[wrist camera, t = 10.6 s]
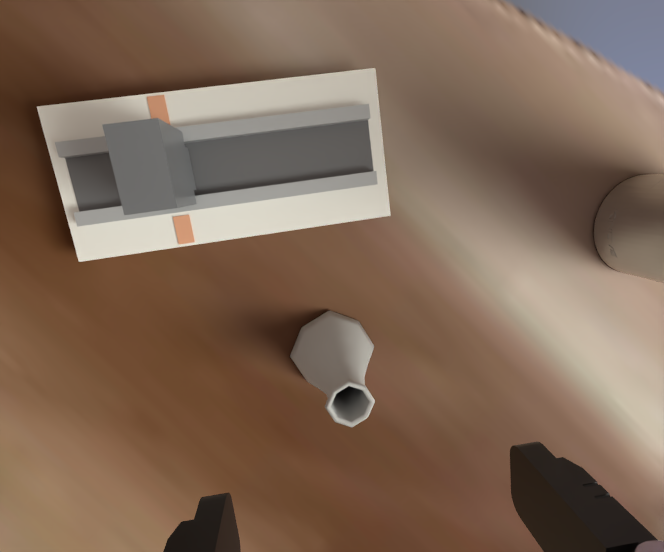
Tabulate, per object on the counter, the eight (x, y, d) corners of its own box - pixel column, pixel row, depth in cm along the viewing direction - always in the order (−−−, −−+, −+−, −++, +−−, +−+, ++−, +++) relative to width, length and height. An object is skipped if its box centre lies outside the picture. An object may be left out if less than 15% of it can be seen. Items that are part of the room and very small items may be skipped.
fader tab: (185, 133, 30) (157, 118, 23) (199, 203, 31) (177, 208, 24) (142, 138, 30) (102, 124, 23) (157, 209, 31) (124, 215, 24)
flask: (336, 401, 39) (355, 471, 29) (275, 356, 38) (274, 415, 28) (387, 343, 39) (423, 395, 29) (327, 295, 37) (345, 333, 27)
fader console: (368, 76, 34) (378, 63, 30) (383, 213, 36) (393, 216, 33) (55, 112, 31) (28, 103, 28) (93, 256, 34) (72, 264, 30)
